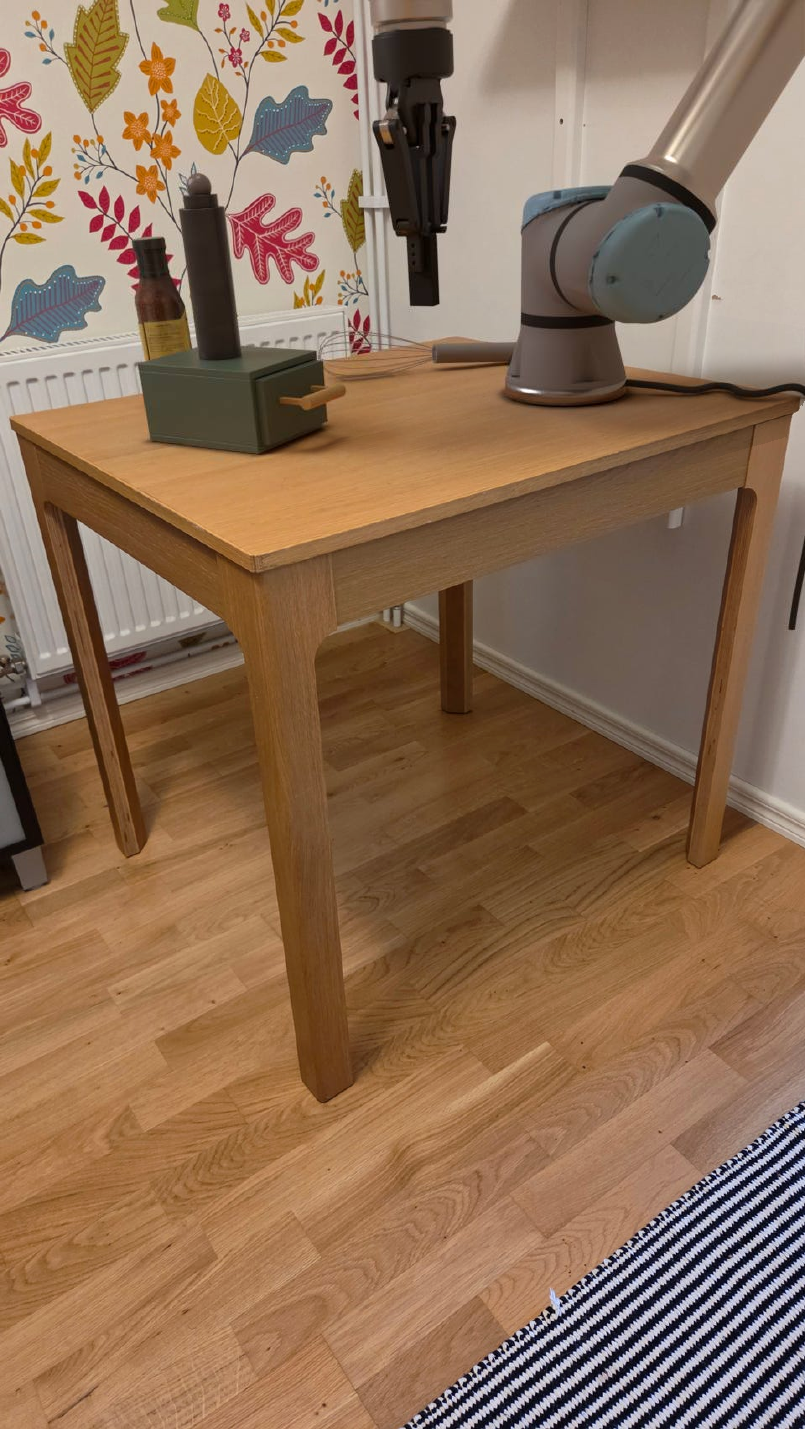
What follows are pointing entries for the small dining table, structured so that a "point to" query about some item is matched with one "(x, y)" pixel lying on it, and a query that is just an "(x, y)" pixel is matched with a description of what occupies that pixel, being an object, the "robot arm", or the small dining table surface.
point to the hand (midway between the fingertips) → (424, 305)
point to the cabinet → (212, 397)
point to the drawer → (293, 400)
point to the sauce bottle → (158, 302)
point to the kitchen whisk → (437, 353)
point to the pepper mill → (209, 271)
